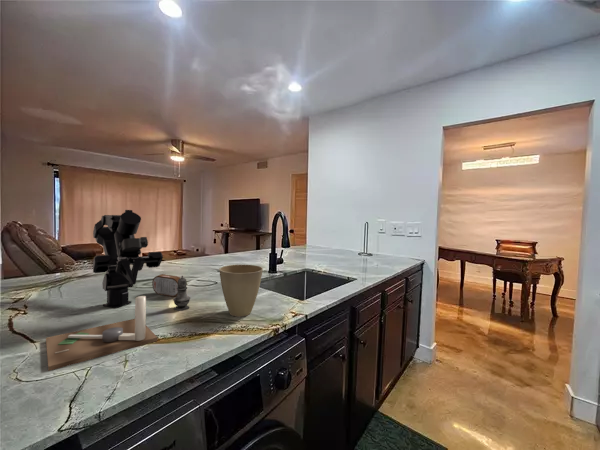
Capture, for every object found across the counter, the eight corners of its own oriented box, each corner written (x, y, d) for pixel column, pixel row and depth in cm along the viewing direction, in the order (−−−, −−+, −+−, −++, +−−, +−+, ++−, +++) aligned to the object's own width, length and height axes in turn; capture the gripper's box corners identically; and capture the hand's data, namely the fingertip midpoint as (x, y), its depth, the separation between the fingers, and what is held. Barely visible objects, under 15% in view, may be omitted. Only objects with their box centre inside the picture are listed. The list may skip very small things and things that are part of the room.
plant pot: (210, 312, 95) (211, 267, 94) (245, 303, 106) (246, 263, 105) (234, 325, 85) (235, 274, 84) (270, 313, 96) (271, 269, 95)
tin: (184, 296, 112) (185, 276, 112) (179, 298, 109) (179, 278, 109) (156, 292, 117) (157, 272, 117) (150, 294, 114) (150, 274, 114)
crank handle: (149, 335, 73) (149, 294, 73) (140, 342, 69) (140, 299, 68) (76, 334, 72) (76, 293, 72) (62, 341, 68) (62, 298, 68)
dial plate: (138, 320, 86) (139, 317, 86) (157, 340, 73) (157, 336, 73) (45, 341, 70) (45, 336, 70) (48, 371, 58) (48, 365, 58)
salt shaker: (183, 311, 95) (184, 277, 94) (169, 310, 96) (169, 276, 96) (193, 306, 100) (194, 274, 100) (179, 304, 102) (180, 273, 101)
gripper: (94, 228, 80) (100, 272, 73) (161, 228, 93) (172, 265, 86) (90, 251, 86) (95, 294, 79) (154, 248, 99) (163, 284, 92)
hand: (134, 283), depth 84 cm, fingers closed
